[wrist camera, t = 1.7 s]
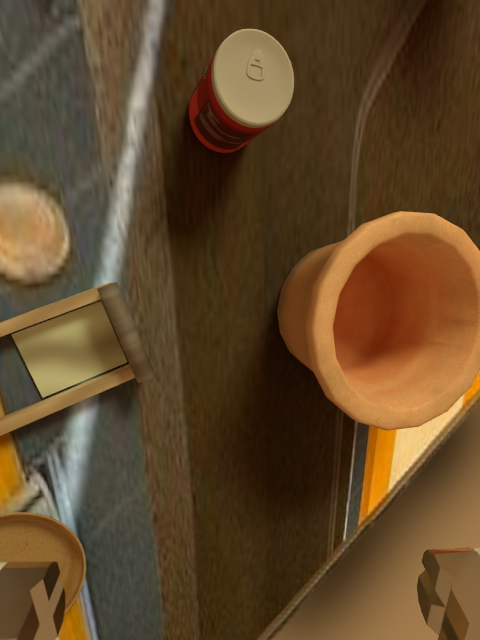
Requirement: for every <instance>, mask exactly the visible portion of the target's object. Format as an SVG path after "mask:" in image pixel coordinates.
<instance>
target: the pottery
mask: <svg viewBox="0 0 480 640" xmlns="http://www.w3.org/2000/svg"><path fill="white" fill-rule="evenodd" d="M277 314H278V322H279V329H280V334H281V336H282V338H283V340H284V342H285V344H286V346H287V348H288V350H289V352H290V353H291V354H292V355H294V356H295V357H296V358H297V359H298V360H299V361H300V362H301V363H303V364H304V365H305V366H307V367H308V368H309V369H310V370H311V371H313V372H314V374H315V376H316V378H317V380H318V382H319V384H320V386H321V388H322V390H323V392H324V394H325V396H326V397H327V398H328V399H329V400H331V401H332V402H333V403H334V404H335V405H336V406H338V407H339V408H340V409H341V410H342V411H343V412H344V413H346V414H347V415H348V416H349V417H350V418H352V419H353V420H355V421H357V422H360V423H363V424H367V425H370V426H373V427H377V428H380V429H383V430H395V429H403V428H411V427H419V426H421V425H422V424H424V423H426V422H428V421H430V420H432V419H434V418H435V417H437V416H439V415H441V414H443V413H445V412H447V411H448V410H449V409H450V408H451V407H452V406H453V405H454V403H455V402H456V401H457V400H458V399H459V398H460V397H461V396H462V395H463V394H464V393H465V392H466V391H467V390H468V389H469V388H470V387H471V385H472V383H473V381H474V379H475V377H476V375H477V373H478V372H479V370H480V251H479V250H478V248H477V247H476V246H475V244H474V243H473V242H472V241H471V239H470V238H469V237H468V235H467V234H466V233H465V232H464V230H462V229H461V228H459V227H457V226H455V225H453V224H452V223H450V222H448V221H446V220H445V219H443V218H441V217H439V216H437V215H436V214H430V213H416V212H403V211H401V212H395V213H392V214H389V215H386V216H384V217H381V218H378V219H375V220H373V221H370V222H367V223H364V224H362V225H360V226H359V227H358V228H357V229H356V230H355V231H354V232H353V233H351V234H350V235H349V236H348V237H347V238H346V239H345V240H344V241H341V242H338V243H335V244H330V245H327V246H324V247H322V248H319V249H316V250H314V251H311V252H309V253H308V254H307V255H306V256H305V257H304V258H302V259H301V260H300V261H299V262H298V263H297V264H296V265H294V266H293V268H292V269H291V271H290V273H289V275H288V277H287V278H286V280H285V282H284V284H283V285H282V287H281V293H280V298H279V303H278V308H277Z"/></svg>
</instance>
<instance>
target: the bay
mask: <svg viewBox="0 0 480 640" xmlns="http://www.w3.org/2000/svg"><path fill="white" fill-rule="evenodd" d="M100 299H102V301H103V304H104V306H105V308H106V311H107V313H108V315H109V318H110V320H111V322H112V325H113V327H114V329H115V332H116V334H117V336H118V339H119V341H120V343H121V346H122V348H123V350H124V353H125V355H126V357H127V360H128V362H129V364H127V365H125V366H123V367H120V368H118V369H115V370H113V371H111V372H108V373H106V374H104V375H101V376H99V377H96V378H94V379H92V380H89V381H87V382H85V383H82V384H80V385H77V386H75V387H73V388H70V389H68V390H66V391H63V392H61V393H58V394H56V395H54V396H51V397H49V398H47V399H44V400H42V401H39V402H37V403H35V404H32V405H30V406H28V407H25V408H23V409H20V410H18V411H16V412H13V413H11V414H9V415H6V416H4V417H1V418H0V436H1V435H3V434H6V433H8V432H10V431H13V430H15V429H17V428H19V427H22V426H24V425H26V424H29V423H31V422H33V421H36V420H38V419H40V418H43V417H45V416H47V415H50V414H52V413H54V412H57V411H59V410H61V409H64V408H66V407H68V406H70V405H73V404H75V403H77V402H80V401H82V400H84V399H87V398H89V397H91V396H94V395H96V394H98V393H101V392H103V391H105V390H108V389H110V388H112V387H115V386H117V385H119V384H121V383H124V382H126V381H128V380H131V379H133V378H136V380H137V383H143V382H146V381H148V380H150V379H152V378H153V377H155V372H154V370H153V368H152V365H151V363H150V360H149V358H148V356H147V353H146V351H145V348H144V346H143V344H142V341H141V339H140V336H139V334H138V332H137V329H136V327H135V324H134V322H133V320H132V317H131V315H130V312H129V310H128V308H127V305H126V303H125V300H124V298H123V296H122V293H121V291H120V288H119V286H118V284H117V282H115V283H112V282H109V283H107V284H104V285H101V286H98V287H96V288H93V289H90V290H87V291H85V292H82V293H79V294H77V295H74V296H71V297H68V298H66V299H63V300H60V301H57V302H55V303H52V304H49V305H47V306H44V307H41V308H38V309H36V310H33V311H30V312H27V313H25V314H22V315H19V316H16V317H14V318H11V319H8V320H6V321H3V322H0V337H1V336H4V335H7V334H9V333H12V332H15V331H17V330H20V329H23V328H25V327H28V326H31V325H33V324H36V323H39V322H41V321H44V320H47V319H49V318H52V317H55V316H58V315H60V314H63V313H66V312H68V311H71V310H74V309H76V308H79V307H82V306H84V305H87V304H90V303H92V302H95V301H98V300H100ZM103 304H102V302H101V301H98V302H96V303H93V304H90V305H88V306H85V307H83V308H80V309H77V310H75V311H72V312H69V313H67V314H64V315H61V316H59V317H56V318H53V319H51V320H48V321H45V322H43V323H40V324H37V325H35V326H32V327H29V328H27V329H24V330H21V331H19V332H16V333H13V334H11V335H12V337H13V339H14V341H15V343H16V345H17V347H18V349H19V351H20V353H21V355H22V357H23V359H24V361H25V364H26V366H27V368H28V370H29V372H30V374H31V376H32V378H33V380H34V382H35V384H36V386H37V388H38V390H39V392H40V394H41V396H42V398H44V397H46V396H48V395H51V394H53V393H56V392H58V391H60V390H63V389H65V388H67V387H70V386H72V385H75V384H77V383H79V382H82V381H84V380H87V379H89V378H91V377H94V376H96V375H98V374H101V373H103V372H106V371H108V370H110V369H113V368H115V367H117V366H120V365H122V364H125V363H127V360H126V357H125V355H124V353H123V350H122V348H121V346H120V343H119V341H118V339H117V337H116V334H115V332H114V330H113V327H112V325H111V323H110V320H109V318H108V316H107V313H106V311H105V309H104V306H103Z"/></svg>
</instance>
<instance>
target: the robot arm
mask: <svg viewBox="0 0 480 640" xmlns="http://www.w3.org/2000/svg"><path fill="white" fill-rule="evenodd" d="M422 563H423V565H424V567H425V571H424V572H423V573H422V574H420V575H419V578H418V584H417V592H418V601H419V604H420V608H421V611H422V614H423V616H424V619H425V621H426V624H427V625H428V626H429V627H430V628H431V629H432V630H433V631H434V632H435V633H437V634H438V635H439V637H438V640H480V548H472V549H470V548H454V549H433V550H426V551H425V552H424V554H423V559H422ZM59 575H60V569H59V566H58V562H0V640H55V639H56V638H57V637H58V634H59V631H60V628H61V625H62V622H63V617H64V612H65V606H66V603H65V590H64V587H63V586H62V585H61V584H60V583H58V582H57V580H58V577H59Z"/></svg>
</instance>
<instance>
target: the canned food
mask: <svg viewBox="0 0 480 640" xmlns="http://www.w3.org/2000/svg"><path fill="white" fill-rule="evenodd" d="M293 89H294V76H293V69H292V66H291V62H290V60H289V58H288V55H287V53H286V52H285V50H284V49H283V47H282V46H281V45H280V44H279V42H278V41H277V40H276V39H275V38H273V37H272V36H270V35H269V34H267V33H265V32H263V31H261V30H256V29H243V30H239V31H236V32H235V33H233V34H231V35H230V36H229V37H228V38H227V39H225V40H224V42H223V43H222V44H221V45H220V47H219V48H218V50H217V51H216V53H215V55H214V56H213V58H212V60H211V61H210V63H209V65H208V67H207V69H206V70H205V72H204V74H203V76H202V77H201V79H200V81H199V83H198V85H197V86H196V88H195V90H194V92H193V94H192V97H191V99H190V104H189V118H190V123H191V126H192V129H193V132H194V133H195V135H196V137H197V138H198V139H199V141H200V142H201V143H202V144H203V145H204V146H206V147H207V148H209V149H211V150H213V151H216V152H221V153H230V152H234V151H236V150H239V149H240V148H242V147H243V146H244V145H246V144H247V143H248V142H250V141H251V140H252V139H254V138H255V137H256V136H258V135H259V134H260V133H261V132H263V131H264V130H265V129H267V128H268V127H269V126H271V125H272V124H273V123H274V122H275V121H277V120H278V119H279V118H280V117H281V116H282V114H283V113H284V112H285V110H286V109H287V107H288V106H289V103H290V101H291V98H292V94H293Z"/></svg>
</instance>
